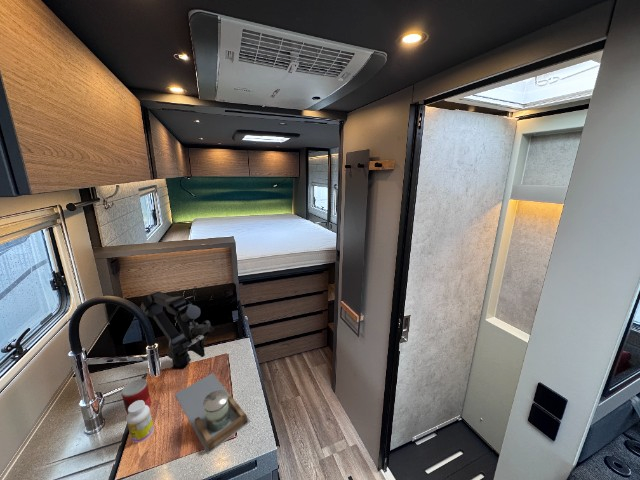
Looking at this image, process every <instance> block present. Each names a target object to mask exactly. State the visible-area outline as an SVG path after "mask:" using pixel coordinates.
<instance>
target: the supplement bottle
mask: <svg viewBox="0 0 640 480" xmlns="http://www.w3.org/2000/svg"><path fill="white" fill-rule="evenodd" d="M125 419H126V423H127V428H128V431H129V434H130V435H129V436H130V439H131V441H132V442H133V443H137V444H138V443H142V442H144V441H145V440H147V439H148V438H149V437H151V436H152V434H153V432H154V428H155V426H154V423H153V418H152V413H151V409H150V408H149V407H148V406H147V405H145V403H144V401H143V400H138V401H135V402H134V403H132V404H131V405H130V406H129V408H128V415H127V414H126V418H125Z"/></svg>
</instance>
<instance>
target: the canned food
mask: <svg viewBox="0 0 640 480" xmlns="http://www.w3.org/2000/svg"><path fill="white" fill-rule="evenodd" d="M121 396H122V400H123V403H124V408H125V409H124V410H125V411H126V416H127V415H128V408H129V406H130V405H131V404H132V403H134V402H135V401H138V400H143V401H144V403H145V405H147V406H148V407H149V408H150V407H151V405H152V399H151V396H150V391H149V386H148V382H147V379H146V378H137V379H134V380H132V381H129V382H128V383H127V384H125V385H124V387H123V388H122V390H121Z"/></svg>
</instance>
